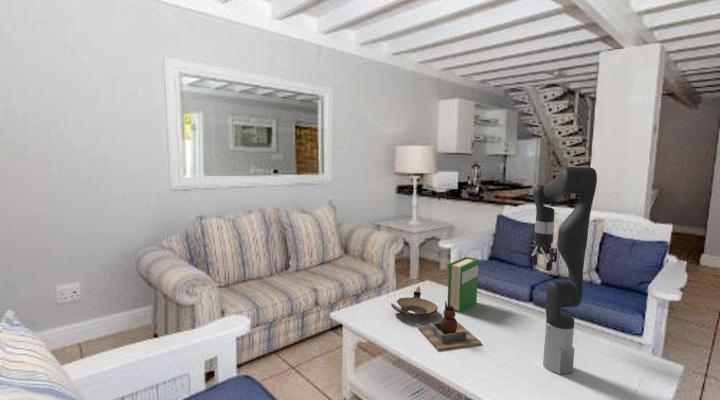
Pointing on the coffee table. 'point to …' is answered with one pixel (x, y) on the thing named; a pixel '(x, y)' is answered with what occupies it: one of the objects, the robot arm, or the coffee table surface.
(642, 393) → the coffee table surface
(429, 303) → the oil lamp
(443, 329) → the wooden figurine
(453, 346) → the keeper cradle
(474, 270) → the hardback book
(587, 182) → the robot arm
